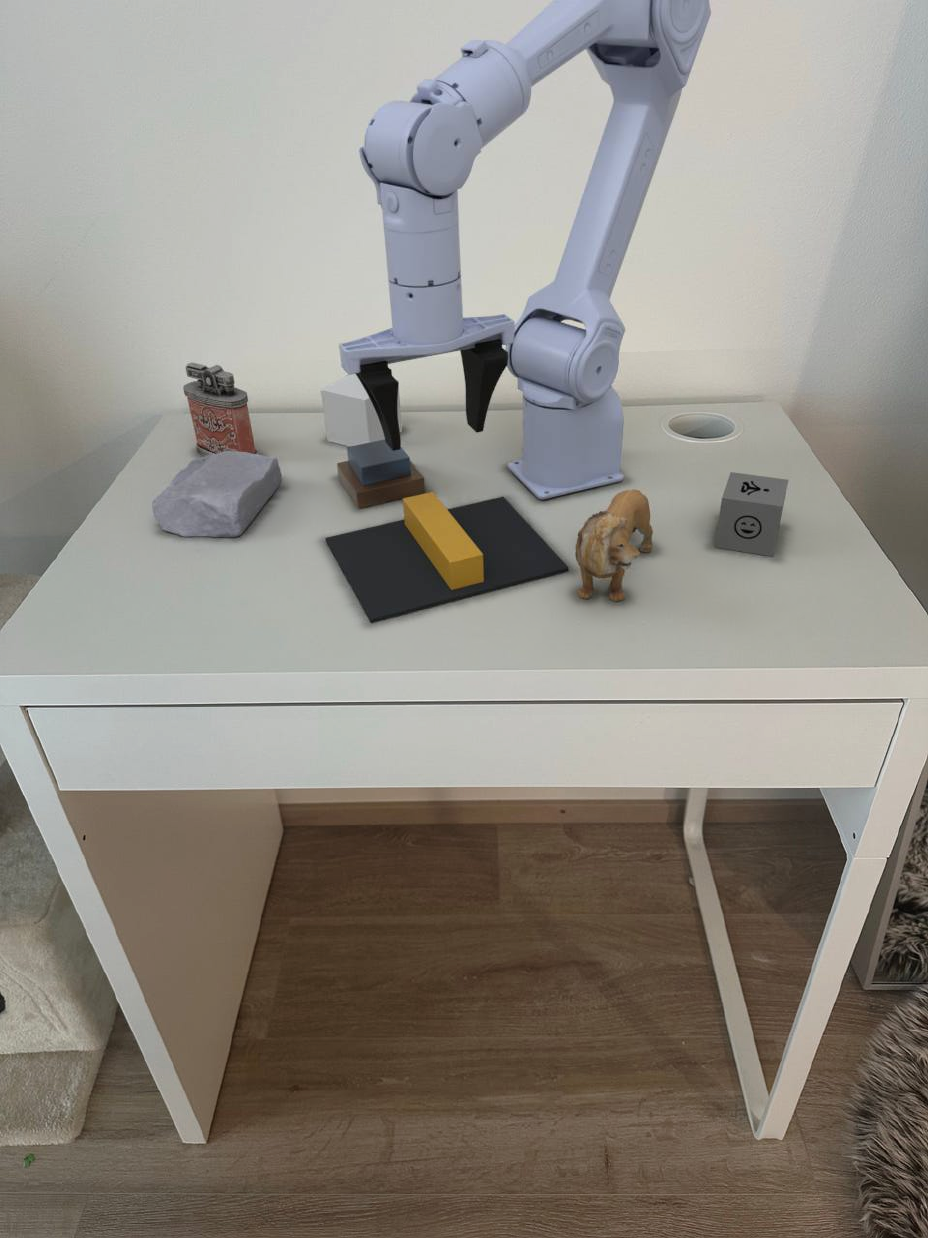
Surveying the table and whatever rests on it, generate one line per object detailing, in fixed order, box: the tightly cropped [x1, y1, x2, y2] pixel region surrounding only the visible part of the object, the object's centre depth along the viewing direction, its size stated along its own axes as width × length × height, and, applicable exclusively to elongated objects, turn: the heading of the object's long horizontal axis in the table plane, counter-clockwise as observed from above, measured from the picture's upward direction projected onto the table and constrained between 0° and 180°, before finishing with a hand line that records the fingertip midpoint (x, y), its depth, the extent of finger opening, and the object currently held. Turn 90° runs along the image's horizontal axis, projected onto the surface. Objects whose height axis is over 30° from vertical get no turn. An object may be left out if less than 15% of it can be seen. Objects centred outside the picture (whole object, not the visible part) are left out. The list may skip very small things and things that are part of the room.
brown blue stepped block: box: [336, 439, 426, 509], centre depth 94 cm, size 7×7×4 cm
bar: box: [402, 491, 484, 590], centre depth 83 cm, size 12×3×3 cm, turn 22°
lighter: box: [182, 362, 259, 457], centre depth 99 cm, size 8×3×10 cm, turn 58°
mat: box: [325, 496, 570, 624], centre depth 84 cm, size 18×14×1 cm
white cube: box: [320, 373, 403, 447], centre depth 103 cm, size 6×6×6 cm
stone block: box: [151, 451, 282, 538], centre depth 92 cm, size 12×5×10 cm
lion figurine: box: [575, 488, 654, 602], centre depth 78 cm, size 15×5×9 cm, turn 163°
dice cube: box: [714, 471, 789, 558], centre depth 83 cm, size 5×5×5 cm
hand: (434, 436), depth 81 cm, fingers open, 7 cm apart
